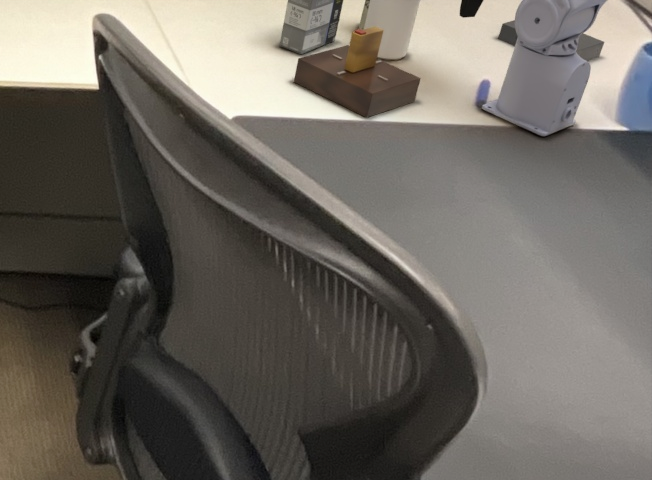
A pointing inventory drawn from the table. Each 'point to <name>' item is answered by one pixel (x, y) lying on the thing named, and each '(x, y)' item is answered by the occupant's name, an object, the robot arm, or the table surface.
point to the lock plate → (356, 82)
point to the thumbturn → (363, 49)
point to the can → (393, 25)
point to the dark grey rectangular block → (585, 49)
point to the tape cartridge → (310, 24)
